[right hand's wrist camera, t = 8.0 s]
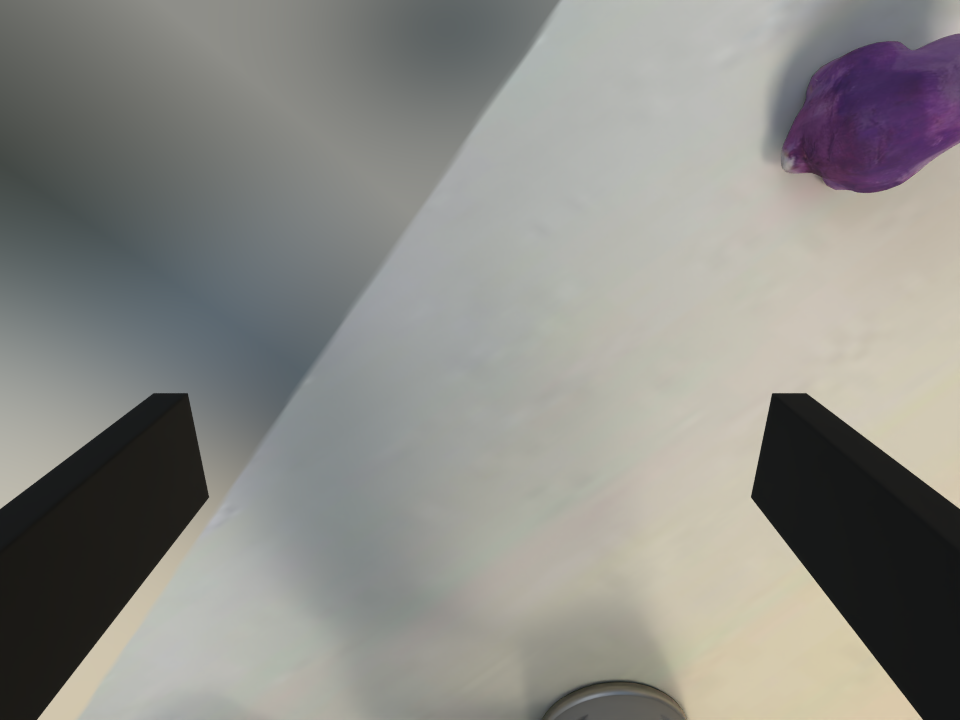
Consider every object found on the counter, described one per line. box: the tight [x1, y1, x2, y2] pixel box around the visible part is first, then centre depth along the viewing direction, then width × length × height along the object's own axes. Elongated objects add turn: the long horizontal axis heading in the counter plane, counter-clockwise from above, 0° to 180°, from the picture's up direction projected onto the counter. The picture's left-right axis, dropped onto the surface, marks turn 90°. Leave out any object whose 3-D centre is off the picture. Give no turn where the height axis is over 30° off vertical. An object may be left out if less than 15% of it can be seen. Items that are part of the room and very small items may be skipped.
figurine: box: [781, 34, 960, 193], centre depth 29 cm, size 9×10×15 cm
